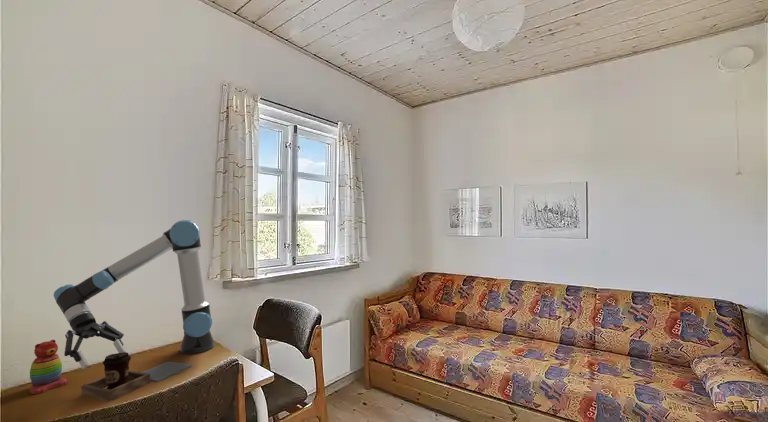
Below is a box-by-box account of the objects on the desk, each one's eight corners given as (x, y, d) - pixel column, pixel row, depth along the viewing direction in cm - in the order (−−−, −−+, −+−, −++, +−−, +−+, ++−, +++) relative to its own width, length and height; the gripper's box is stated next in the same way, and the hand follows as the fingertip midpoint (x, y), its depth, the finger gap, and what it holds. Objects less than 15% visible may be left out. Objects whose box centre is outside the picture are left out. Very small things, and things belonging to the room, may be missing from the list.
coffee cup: (115, 395, 134) (115, 360, 135) (97, 393, 136) (96, 358, 136) (136, 384, 143) (135, 351, 143) (118, 383, 144) (117, 350, 145)
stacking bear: (34, 395, 136) (33, 348, 136) (22, 390, 141) (22, 344, 141) (69, 383, 146) (69, 339, 146) (57, 379, 150) (57, 335, 151)
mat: (168, 362, 164) (168, 361, 164) (191, 366, 159) (191, 364, 159) (133, 377, 149) (133, 376, 149) (157, 382, 144) (157, 380, 144)
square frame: (123, 377, 149) (123, 369, 149) (150, 382, 144) (150, 373, 144) (81, 395, 135) (81, 386, 135) (109, 401, 130) (109, 391, 130)
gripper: (108, 316, 158) (132, 354, 153) (37, 333, 135) (63, 379, 130) (117, 304, 157) (141, 343, 151) (46, 320, 133) (72, 366, 128)
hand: (105, 360), depth 140 cm, fingers open, 13 cm apart
